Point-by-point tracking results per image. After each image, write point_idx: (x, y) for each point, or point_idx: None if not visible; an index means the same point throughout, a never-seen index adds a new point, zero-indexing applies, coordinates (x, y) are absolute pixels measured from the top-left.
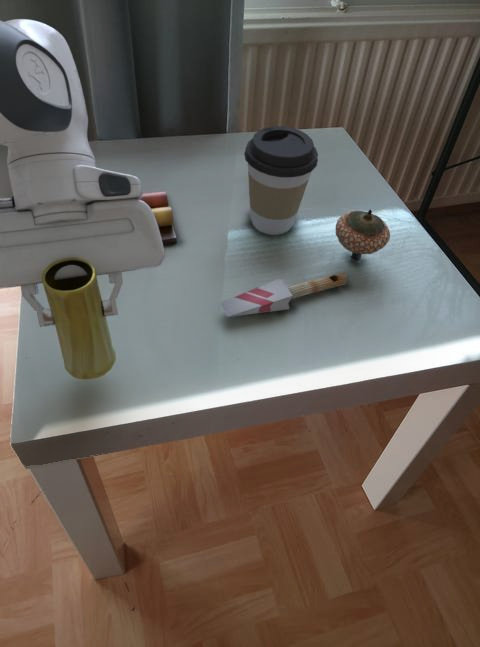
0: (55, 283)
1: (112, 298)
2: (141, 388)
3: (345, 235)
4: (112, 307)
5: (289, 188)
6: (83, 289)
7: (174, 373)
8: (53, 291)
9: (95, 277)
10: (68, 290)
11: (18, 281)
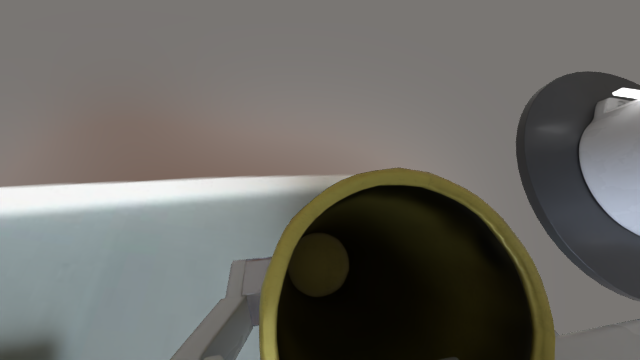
0: (441, 345)
1: (234, 299)
2: (245, 226)
3: None
4: (242, 272)
5: None
6: (328, 188)
7: (189, 247)
8: (465, 191)
9: (262, 284)
10: (381, 350)
11: (594, 340)
